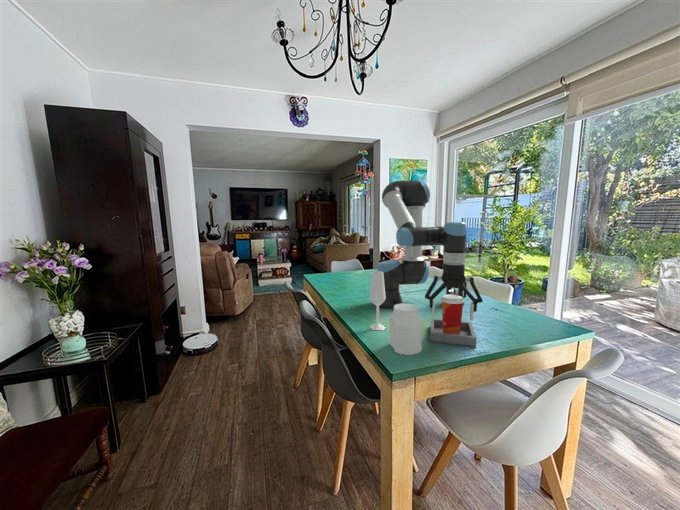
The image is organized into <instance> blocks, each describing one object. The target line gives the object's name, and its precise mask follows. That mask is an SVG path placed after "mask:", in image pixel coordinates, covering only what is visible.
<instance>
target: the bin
mask: <svg viewBox="0 0 680 510" xmlns="http://www.w3.org/2000/svg"><path fill="white" fill-rule="evenodd" d="M429 335H430V337H429V338H430V340H429V342H430V343H436V344H444V345H446V344H447V345H453V346H459V347H470V348H471V347H472V348H477V335H476V332H475V330H474V327H473V323H472V321H463V320H461V328H460V335H457V334H448V333H443V318H442V319H440V318H439V319H438V318H430V334H429Z"/></svg>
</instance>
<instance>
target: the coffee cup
mask: <svg viewBox="0 0 680 510" xmlns="http://www.w3.org/2000/svg"><path fill="white" fill-rule="evenodd" d="M440 300H441V310H442V311H441V314H442V320H443V333H448V334H457V335H460V328H461V321H462V318H463V309H464V305H463V303H464V304H465V299H464V300H463V297H461V296H458V295H452V294H448V295H446V294H442V297H441V299H440Z"/></svg>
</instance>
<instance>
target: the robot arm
mask: <svg viewBox="0 0 680 510" xmlns="http://www.w3.org/2000/svg"><path fill="white" fill-rule="evenodd" d="M430 199H431V190H430V186H429V184H428V183H427V182H426V181H424V180H418V179H416V180H394V181H392V182H390V183H389V184H387V185H386V186H385V187H384V189H383V190H382V194H381V201H382V203H383V205H384V207H385V208H387V209H388V211H389V213H390V216H391V218H392V220H393V222H394V224H395V225H396V226H395V227H396V228H397V230H396V233H395V239H396V243H397V245H398V246H399V247H405V249H404V256H403V258H402V259H401V262H400V261H399V260H397V259H395V260H394V259H389V260H384V261H381V262H379V263H377V267H376V271H382V272H383V274H384V285H385V295H386V299H385V301H384V302H383V303H382V304H381V305H380V306H379V309H380V308H381V309H394V305H396V304H402V303H403V298H402V296H401V292H400V286H402V285H404V286H405V285H421V284H424V283H426V282H427V280H428V279H429V276H430V268H429V267H430V266H429V264H428V262H426V260H425V258H424V256H423V254H422V253H423V247H425V246H426V247H428V246H429V247H430V246H431V247H432V246H442V247H443V256H442V257H443V258H442V260H443V261H442V262H443V264H442V275H437V274H434V276H433V281H432V283H431V284H430V286H429V288H428V289H427V291H426V292H425V294H424V298H425V299H426V300H429V309H432V313H431V315H432V318H435V312H436V311H435V310H436V306H435V305H436V297H437V296H438V295H439V294H441V292H442V291H443V290H446V287H449V288H451V289H454V288H455V289H458V288H459V287H460V288H461V289H462V290H463V293H464V292H465V293H466V297H468V298H469V299H470V300H471V301H470V305H469V306H470V307H469V308H470V309H469V311H470V312H469V319H470V322H473V321H474V312H475V313H476V312H478V311H477V309H478V304H479V303H483V302H484V301H483V298H482V296H481V294H480V292H479V290H478V288H477V287H476V284H475V279H474V277H473V276H472V275H471V276H465V274H464V273H465V271H466V269H465V267H466V266H465V262H466V247H467V246H466V244H467V225H466V223H465V222H463V221H460V222H459V221H449V222H445V224H444V225H443V226H442V225H441V226H438V225H437V226H428V227H427V226H426V227H424V226H423V210H424V209H425V208H426V204H428V203H429V202H430ZM440 280H441V281H442V282H443V283H441V285H439V287H438V288H437V289H436V290H435V291H434V292H433V290H434V288H435V287H436V285H437V283H438V282H440ZM465 281H466V282H467V284H468V283H469V284H470V286H471V288H472V290H473V291H474V294H475V297H476V298H475V297H474V295H473V294H472V293H471V292H470V291H469V290H468V289H467V287H465V286H464V285H463V283H464V282H465ZM432 292H433V293H432ZM431 293H432V294H431ZM374 306H375V307H376V305H374Z"/></svg>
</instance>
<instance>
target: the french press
mask: <svg viewBox="0 0 680 510" xmlns="http://www.w3.org/2000/svg"><path fill="white" fill-rule="evenodd" d="M464 275H465V272H464ZM467 284H468V281H467V280H466V281H465V282H464V283H463V285H464V286H465V287H466V288H467ZM448 294H451V295H458V296H461V297H463V300H464V301H465V299H466V298H467V294H466V293H465V292H464V291H463V290H462V289H461V288H460V287H459V288H457V289H456V288H453V289H452V288H449V287H446V288H445V295H448ZM464 305H465V302H464V303H463V306H464Z"/></svg>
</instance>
